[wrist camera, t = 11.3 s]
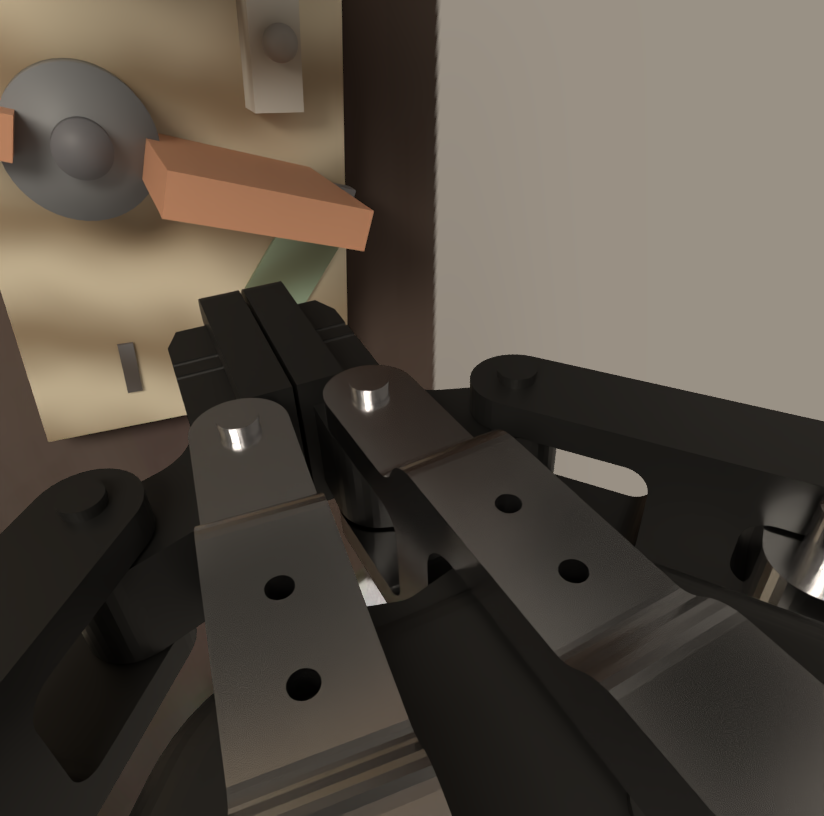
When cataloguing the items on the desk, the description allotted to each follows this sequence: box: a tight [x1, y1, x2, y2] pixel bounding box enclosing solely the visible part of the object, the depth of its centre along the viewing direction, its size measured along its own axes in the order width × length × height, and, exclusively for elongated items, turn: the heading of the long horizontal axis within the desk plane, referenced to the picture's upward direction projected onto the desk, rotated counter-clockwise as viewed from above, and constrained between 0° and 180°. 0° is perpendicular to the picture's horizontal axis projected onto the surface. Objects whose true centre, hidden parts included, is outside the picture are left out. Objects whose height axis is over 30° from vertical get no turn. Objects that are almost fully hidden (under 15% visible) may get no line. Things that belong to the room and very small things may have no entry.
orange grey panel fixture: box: [0, 58, 374, 251], centre depth 29 cm, size 19×6×9 cm, turn 74°
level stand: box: [0, 0, 347, 442], centre depth 33 cm, size 24×18×6 cm
